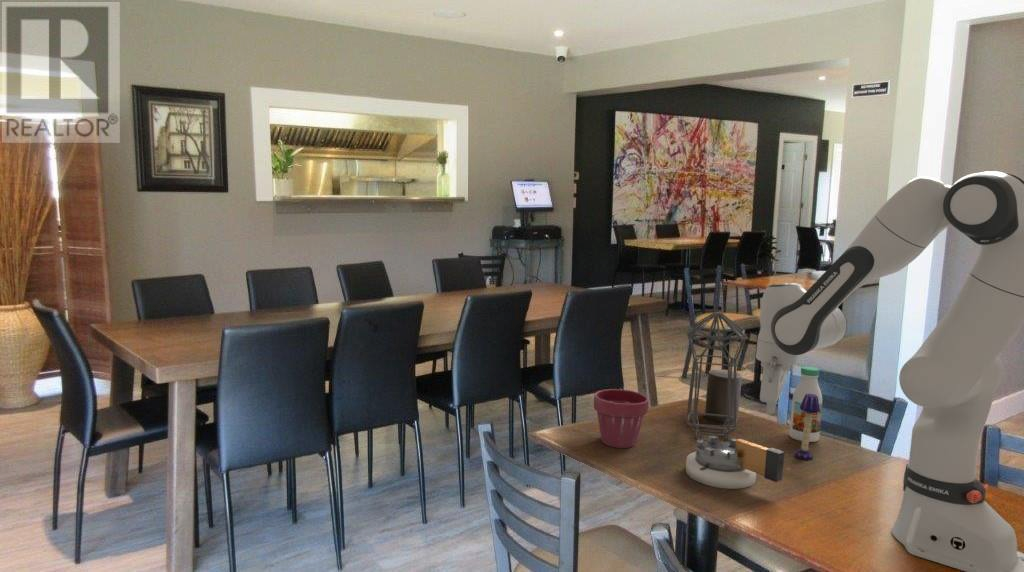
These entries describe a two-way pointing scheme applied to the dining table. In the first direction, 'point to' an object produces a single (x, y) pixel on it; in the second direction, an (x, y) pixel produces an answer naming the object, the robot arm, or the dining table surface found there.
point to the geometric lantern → (742, 336)
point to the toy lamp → (807, 424)
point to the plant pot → (620, 416)
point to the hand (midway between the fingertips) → (771, 411)
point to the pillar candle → (721, 394)
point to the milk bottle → (804, 387)
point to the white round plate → (718, 475)
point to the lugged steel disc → (740, 457)
